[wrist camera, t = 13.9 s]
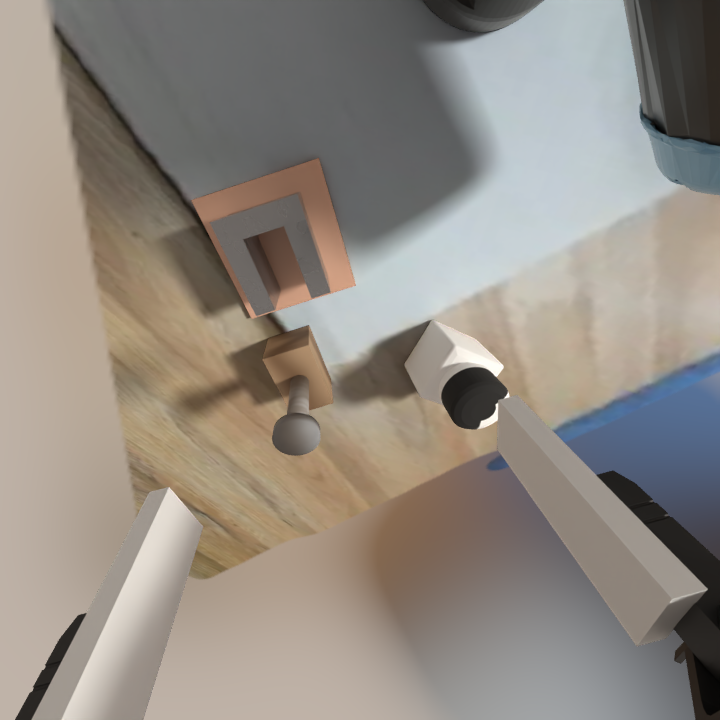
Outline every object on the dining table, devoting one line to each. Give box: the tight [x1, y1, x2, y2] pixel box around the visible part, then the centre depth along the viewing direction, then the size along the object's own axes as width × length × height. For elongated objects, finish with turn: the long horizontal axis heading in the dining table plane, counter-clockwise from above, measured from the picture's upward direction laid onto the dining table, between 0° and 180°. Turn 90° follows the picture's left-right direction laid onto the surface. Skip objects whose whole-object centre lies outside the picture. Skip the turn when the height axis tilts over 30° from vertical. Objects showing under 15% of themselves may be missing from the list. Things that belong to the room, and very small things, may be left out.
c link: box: [210, 192, 331, 316], centre depth 28 cm, size 8×7×6 cm
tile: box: [191, 158, 356, 318], centre depth 31 cm, size 12×12×1 cm
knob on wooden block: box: [262, 325, 333, 455], centre depth 32 cm, size 5×8×14 cm, turn 16°
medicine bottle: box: [404, 320, 509, 429], centre depth 35 cm, size 7×7×12 cm
